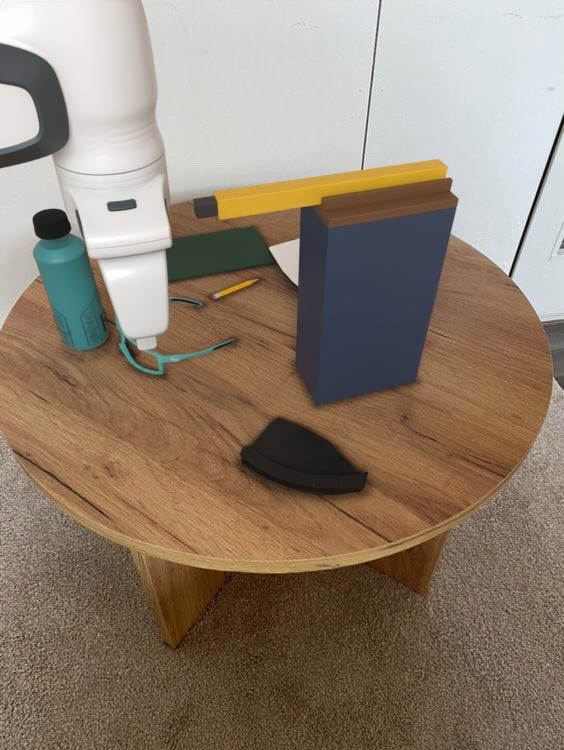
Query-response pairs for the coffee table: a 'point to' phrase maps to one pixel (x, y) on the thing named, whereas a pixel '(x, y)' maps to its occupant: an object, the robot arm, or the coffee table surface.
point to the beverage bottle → (69, 281)
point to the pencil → (233, 289)
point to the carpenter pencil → (311, 189)
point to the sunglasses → (160, 358)
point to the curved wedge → (300, 461)
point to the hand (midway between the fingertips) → (139, 315)
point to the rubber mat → (215, 253)
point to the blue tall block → (369, 286)
